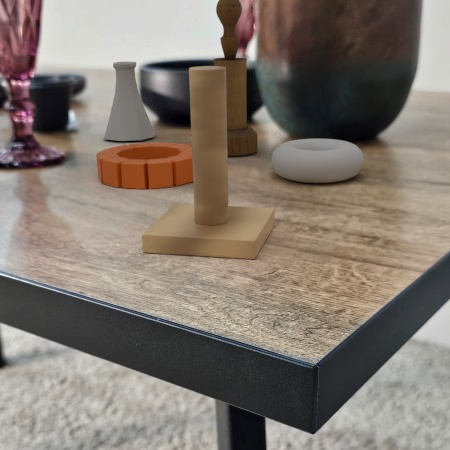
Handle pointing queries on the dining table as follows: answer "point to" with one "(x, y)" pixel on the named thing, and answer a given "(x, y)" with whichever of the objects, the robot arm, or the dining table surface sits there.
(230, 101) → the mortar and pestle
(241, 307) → the dining table surface
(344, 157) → the donut
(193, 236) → the stand
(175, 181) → the ring
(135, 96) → the flask
